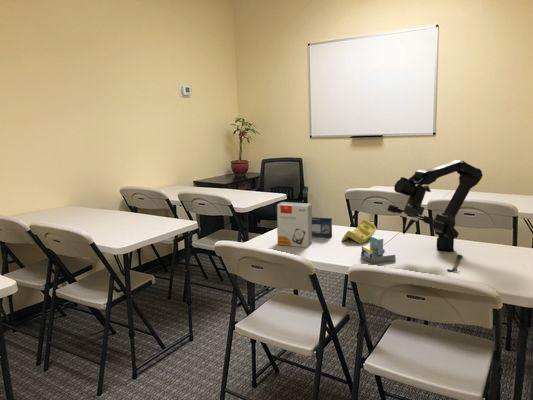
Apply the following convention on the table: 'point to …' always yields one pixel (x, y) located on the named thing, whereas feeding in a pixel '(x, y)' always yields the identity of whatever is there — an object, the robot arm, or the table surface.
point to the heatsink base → (375, 258)
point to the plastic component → (361, 232)
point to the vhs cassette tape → (321, 227)
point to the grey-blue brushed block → (375, 246)
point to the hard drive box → (294, 224)
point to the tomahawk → (456, 264)
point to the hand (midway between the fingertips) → (403, 233)
